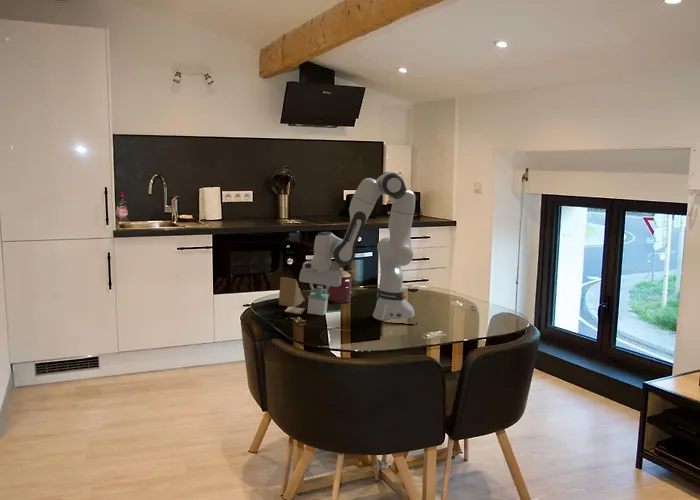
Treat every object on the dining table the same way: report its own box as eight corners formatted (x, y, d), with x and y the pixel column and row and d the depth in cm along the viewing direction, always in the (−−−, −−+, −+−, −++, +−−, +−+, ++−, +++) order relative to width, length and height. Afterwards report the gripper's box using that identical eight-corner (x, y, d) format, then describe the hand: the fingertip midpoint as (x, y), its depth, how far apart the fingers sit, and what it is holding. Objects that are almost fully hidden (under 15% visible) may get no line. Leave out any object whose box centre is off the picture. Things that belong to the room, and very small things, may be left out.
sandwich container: (306, 302, 326) (308, 273, 324) (293, 309, 312) (296, 279, 309) (290, 299, 329) (293, 271, 326) (278, 305, 315) (280, 276, 312)
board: (304, 310, 311) (304, 308, 310) (300, 315, 303) (300, 313, 303) (288, 308, 312) (288, 306, 311) (284, 312, 304) (284, 310, 304)
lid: (328, 296, 311) (329, 286, 310) (325, 300, 303) (326, 290, 302) (311, 293, 312) (312, 284, 311) (307, 298, 304) (308, 288, 303)
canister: (349, 304, 329) (353, 271, 326) (324, 302, 329) (328, 269, 326) (350, 298, 342) (353, 266, 338) (326, 295, 342) (329, 263, 338)
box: (326, 312, 312) (328, 296, 311) (323, 316, 304) (325, 300, 303) (310, 309, 313) (312, 294, 312) (307, 314, 305) (308, 298, 304)
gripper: (343, 266, 306) (341, 294, 309) (302, 261, 309) (300, 288, 311) (341, 269, 300) (338, 297, 302) (299, 263, 302) (297, 291, 305)
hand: (318, 293), depth 307 cm, fingers open, 4 cm apart
